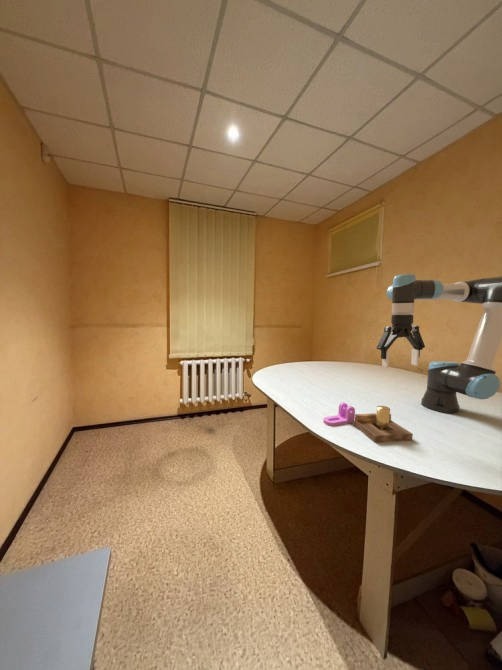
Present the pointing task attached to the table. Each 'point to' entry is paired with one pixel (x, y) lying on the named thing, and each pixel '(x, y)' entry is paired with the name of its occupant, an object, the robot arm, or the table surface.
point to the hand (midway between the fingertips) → (399, 366)
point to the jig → (368, 427)
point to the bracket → (341, 416)
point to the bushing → (382, 417)
